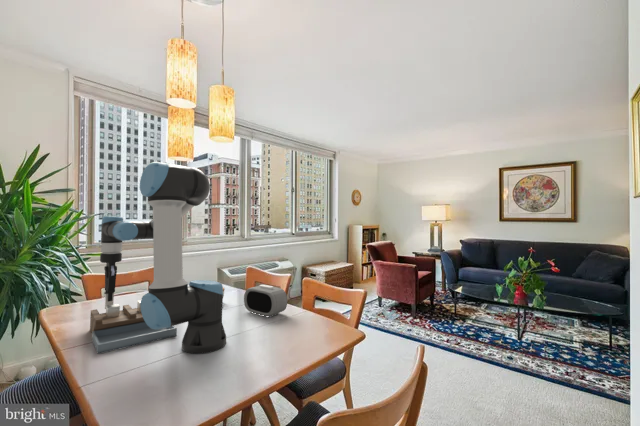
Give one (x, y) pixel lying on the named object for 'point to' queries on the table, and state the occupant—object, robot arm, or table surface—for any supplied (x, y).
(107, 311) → the left block
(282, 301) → the alarm clock
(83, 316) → the table surface
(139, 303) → the right block
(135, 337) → the tray
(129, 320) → the slot board
